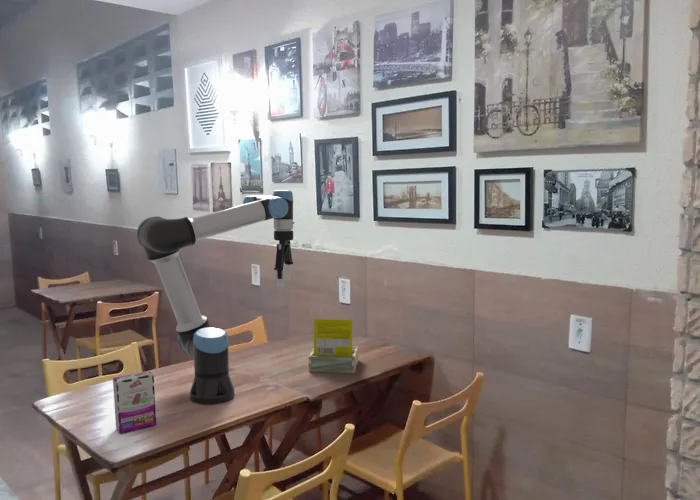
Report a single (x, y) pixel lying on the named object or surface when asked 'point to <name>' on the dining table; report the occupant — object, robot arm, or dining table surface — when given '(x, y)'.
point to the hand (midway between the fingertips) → (284, 283)
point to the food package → (333, 338)
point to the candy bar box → (134, 402)
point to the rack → (334, 363)
